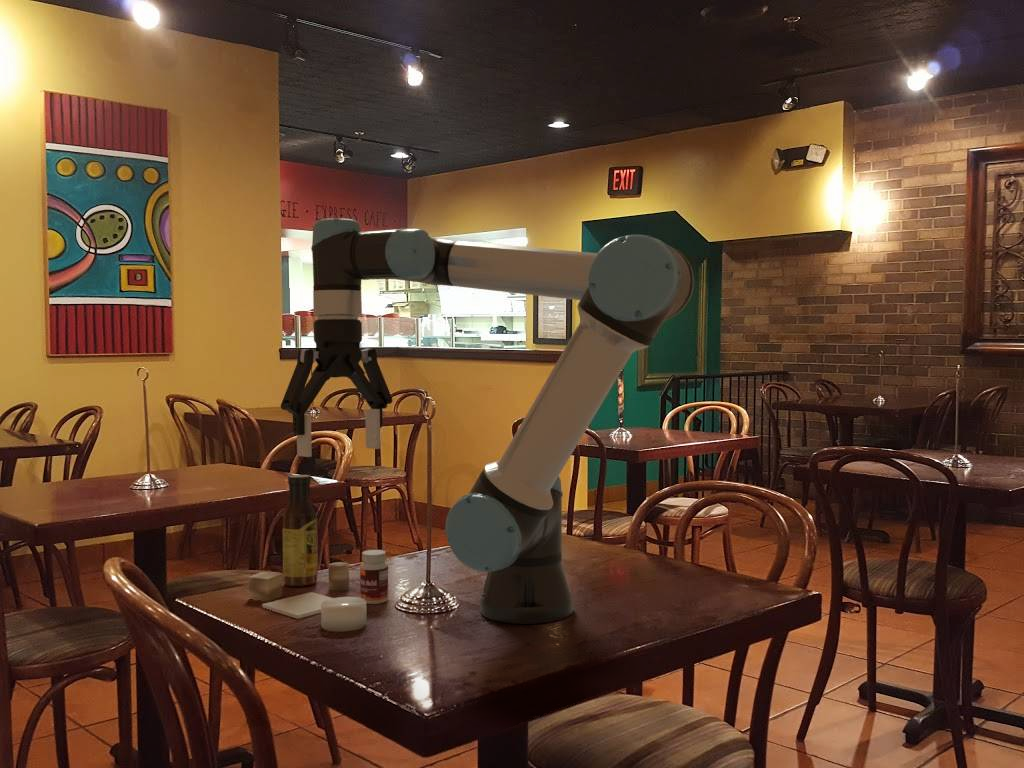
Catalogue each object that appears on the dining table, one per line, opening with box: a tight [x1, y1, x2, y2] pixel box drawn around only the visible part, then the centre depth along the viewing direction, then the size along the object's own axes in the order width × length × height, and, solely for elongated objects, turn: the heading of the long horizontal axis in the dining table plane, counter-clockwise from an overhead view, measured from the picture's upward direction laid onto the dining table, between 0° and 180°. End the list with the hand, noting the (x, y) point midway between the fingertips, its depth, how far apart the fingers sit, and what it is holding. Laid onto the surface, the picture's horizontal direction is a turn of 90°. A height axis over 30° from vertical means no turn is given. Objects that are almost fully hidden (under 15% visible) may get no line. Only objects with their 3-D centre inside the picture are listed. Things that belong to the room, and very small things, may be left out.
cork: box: [327, 561, 350, 593], centre depth 169 cm, size 4×4×4 cm
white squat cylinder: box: [320, 596, 368, 633], centre depth 148 cm, size 7×7×4 cm
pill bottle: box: [359, 549, 389, 605], centre depth 161 cm, size 5×5×8 cm
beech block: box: [248, 571, 283, 603], centre depth 164 cm, size 4×4×4 cm
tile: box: [261, 591, 334, 620], centre depth 158 cm, size 10×10×1 cm
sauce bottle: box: [282, 474, 319, 587], centre depth 173 cm, size 6×6×20 cm
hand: (339, 452), depth 150 cm, fingers open, 13 cm apart
